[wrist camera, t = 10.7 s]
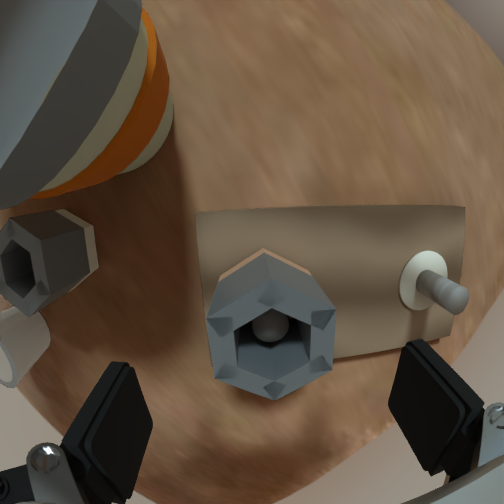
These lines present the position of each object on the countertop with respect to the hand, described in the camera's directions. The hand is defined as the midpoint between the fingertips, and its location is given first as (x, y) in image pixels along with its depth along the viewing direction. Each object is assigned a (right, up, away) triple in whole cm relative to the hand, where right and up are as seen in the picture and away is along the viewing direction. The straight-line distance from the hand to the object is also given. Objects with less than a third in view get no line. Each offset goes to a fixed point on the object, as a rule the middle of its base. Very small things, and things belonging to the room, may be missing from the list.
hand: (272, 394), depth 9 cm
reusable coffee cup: (-11, +15, +10) cm, 21 cm away
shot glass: (-24, -3, +14) cm, 28 cm away
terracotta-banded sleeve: (0, +2, +11) cm, 11 cm away
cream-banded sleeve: (-16, +5, +12) cm, 21 cm away
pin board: (+7, +2, +13) cm, 15 cm away
